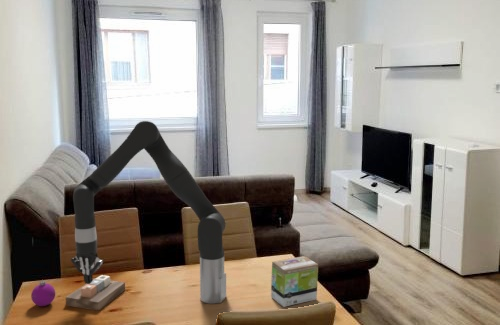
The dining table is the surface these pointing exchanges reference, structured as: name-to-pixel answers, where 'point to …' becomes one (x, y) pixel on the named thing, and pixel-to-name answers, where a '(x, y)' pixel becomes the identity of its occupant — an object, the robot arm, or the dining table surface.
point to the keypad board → (96, 296)
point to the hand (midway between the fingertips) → (88, 282)
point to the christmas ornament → (43, 294)
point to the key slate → (98, 284)
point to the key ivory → (105, 279)
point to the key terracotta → (88, 291)
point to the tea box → (294, 281)
